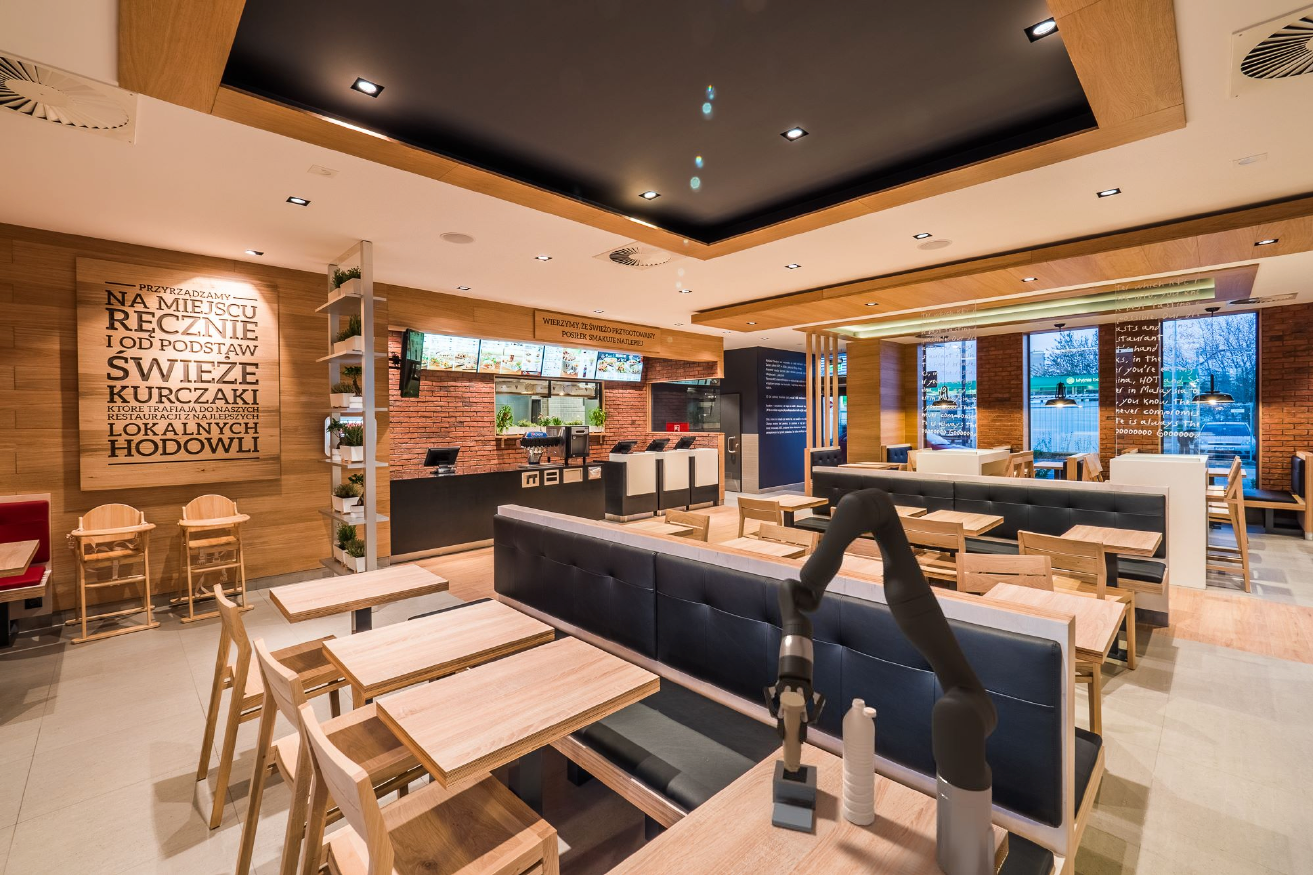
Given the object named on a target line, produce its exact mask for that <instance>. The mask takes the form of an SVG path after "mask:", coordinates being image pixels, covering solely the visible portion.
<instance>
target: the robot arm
mask: <svg viewBox="0 0 1313 875" xmlns="http://www.w3.org/2000/svg"><path fill="white" fill-rule="evenodd" d="M900 518H901V517H900V516H899V513H898V510H897V508H896V506H895V504H894V502H893V500H892V499H891V497H890V496H889V495H888V494H887V493H886V491H883V490H882V489H880V488H877V487H871V488H865V489H861V490H856V491H852V492H849V493H846V494H845V495H843V496H842V498H841V499H840V500H839V502H838V503H837V505H836V507H835V509H834V510H833V514H832V515H831V518H830V520H829V523H828V524H827V527H826V529H825V530H824V533H823V535H822V537H821V538H820V541H819V543H818V544H817V547H816V548H815V549H814V551H813V552H812V553H811V555H810V556H809V557H808V559H807V560H806V562H805V563H804V564H803V566H802V567H801V569H800V570H799V579H800V580H798V579H794V578H789V577H788V578H785V579H783V580H782V582H780V585H778V586H779V587H778V589H777V600H778V605H779V609H780V614H781V620H782V631H781V632H782V633H781V642H780V648H779V659H778V673H777V682H776V683H775V684H774V686H771V687H768V686H764V687H763V688H762V689H763V693H764V697H765V702H766V704H767V705H766V706H767V708H768V711H769V716H770V717H771V718H772V719H775V720H776V721H777V722H776V723H777V725H776V735H777V737H778V738H779V741H781V742H783V740H784V708H782V707H781V703H780V704H779V708H778V711H777V710H776V709H775V705H774V703H773V699H774V698H775V693H776V694H777V696H778V697H779V698H780V695H781V693H783V692H796V693H798V694H799V695H801V696H802V697H803V698H804V700H805V707H804V710H803V711H801V712H800V720H801V721H800V722H801V723H800V744H801V745H804V742H807V740H808V727H809V726H810V725H816V724H817V723H818V720H819V718H820V716H821V713H822V711H823V710H824V709H823V708H824V706H825V704H826V696H825V694H819V693H817V692H815V690H814V689H815V688H814V687H813V672H814V671H813V670H814V668H813V667H814V648H813V640H814V639H813V637H814V626H813V625H814V624H813V622H812V620H811V619H810V618H809V617H807V616H806V615H810V614H815V613H816V612H818V610H819V609H820V607H821V605H822V602H823V598H824V594H825V592H826V589H827V587H828V586H829V584H830V583H831V582H832V580H834V578H835V577H836V576H837V574H838V573H839V571H840V569H841V568H842V565H843V561H844V554H845V552H846V550H847V549H848V548H849V546H850V545H851V544H852V543H853V542H854V541H855V540H857V539H858V538H859V537H861V536H862V535H868V534H870V533H871V534H872V536H873V538H874V541H875V542H876V545H877V547H878V549H879V552H880V555H881V560H882V582H883V583H882V584H883V585H882V586H883V593H884V599H885V601H886V604H887V606H888V609H889V611H890V613H891V615H892V617H893V619H894V621H895V623H896V626H897V627H898V629H899V630H900V632H901V633H902V634H903V636H904V637H905V638H906V639H907V641H908V642H910V644H911V645H912V646H913V647H914V648H915V650H917V651H918V652H919V653H920V654H921V655H922V656H923V657H924V658H925V660H926V661H927V662H928V664H929V665H930V667H931V669H932V670H933V673H934V674H935V676H936V678H937V681H938V683H939V685H940V688H941V690H942V693H943V695H941V697H940V698H939V699H938V700H936V702H934V705H933V708H932V712H931V738H932V739H931V741H932V744H931V746H932V755H933V758H934V761H935V763H936V816H935V817H936V821H935V822H936V824H935V826H936V828H935V829H936V831H935V832H936V834H935V835H936V840H935V841H936V842H935V843H936V844H935V851H936V852H935V854H936V857H935V858H936V861H937V865H938V866H939V867H940V869H941V870H942V871H943V872H945V873H946V874H947V875H995V872H996V871H995V870H996V868H995V864H996V863H995V862H996V856H995V855H996V849H995V848H996V845H995V844H996V842H995V839H996V833H995V830H994V826H993V824H992V817H993V816H992V810H993V809H992V807H993V806H992V805H993V804H992V803H993V801H992V800H993V799H992V798H993V797H992V796H993V791H992V788H993V787H992V786H993V785H992V784H993V777H992V776H993V772H992V768H991V766H990V765H989V763H988V762H987V761H986V740H987V738H988V737H989V736H990V735H991V734H992V733H993V732H994V731H995V729H996V728H997V724H998V712H997V708H996V706H995V705H994V702H993V700H992V698H991V696H990V695H989V693H988V692H987V690H986V688H985V687H984V685H983V684H982V682H981V680H980V679H979V678H978V676H977V674H976V672H975V671H974V669H973V668H972V666H971V665H970V663H969V661H968V659H967V657H966V656H965V654H964V652H963V649H962V648H961V645H960V644H959V642H958V639H957V637H956V635H955V634H954V631H953V630H952V628H951V625H950V624H949V622H948V620H947V618H946V616H945V613H944V612H943V609H942V607H941V604H940V602H939V600H938V599H937V596H936V595H935V593H934V591H933V589H932V587H931V584H929V581H928V580H927V578H926V576H925V574H924V571H923V570H922V567H921V565H920V563H919V562H918V559H917V556H916V555H915V553H914V551H913V549H912V546H911V543H910V542H909V540H908V537H907V534H906V532H905V528H904V527H903V524H902V522H901V519H900ZM804 614H806V615H804ZM812 699H814V700H813V701H814V704H815V705H814V708H813V710H812V712H811V715H808V714H807V708H806V706H807V704H809V702H810V701H811V700H812Z"/></svg>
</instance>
